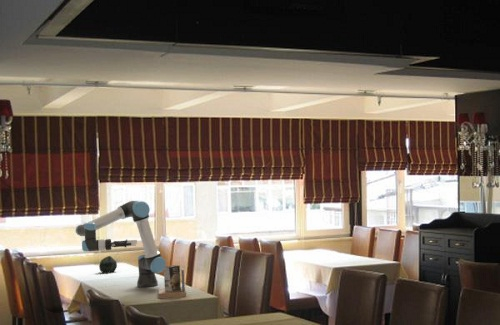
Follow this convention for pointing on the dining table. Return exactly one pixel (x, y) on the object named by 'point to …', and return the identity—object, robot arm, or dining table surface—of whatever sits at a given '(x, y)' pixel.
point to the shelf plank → (171, 293)
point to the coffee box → (172, 278)
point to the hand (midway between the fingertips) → (136, 242)
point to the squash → (108, 265)
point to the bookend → (182, 279)
